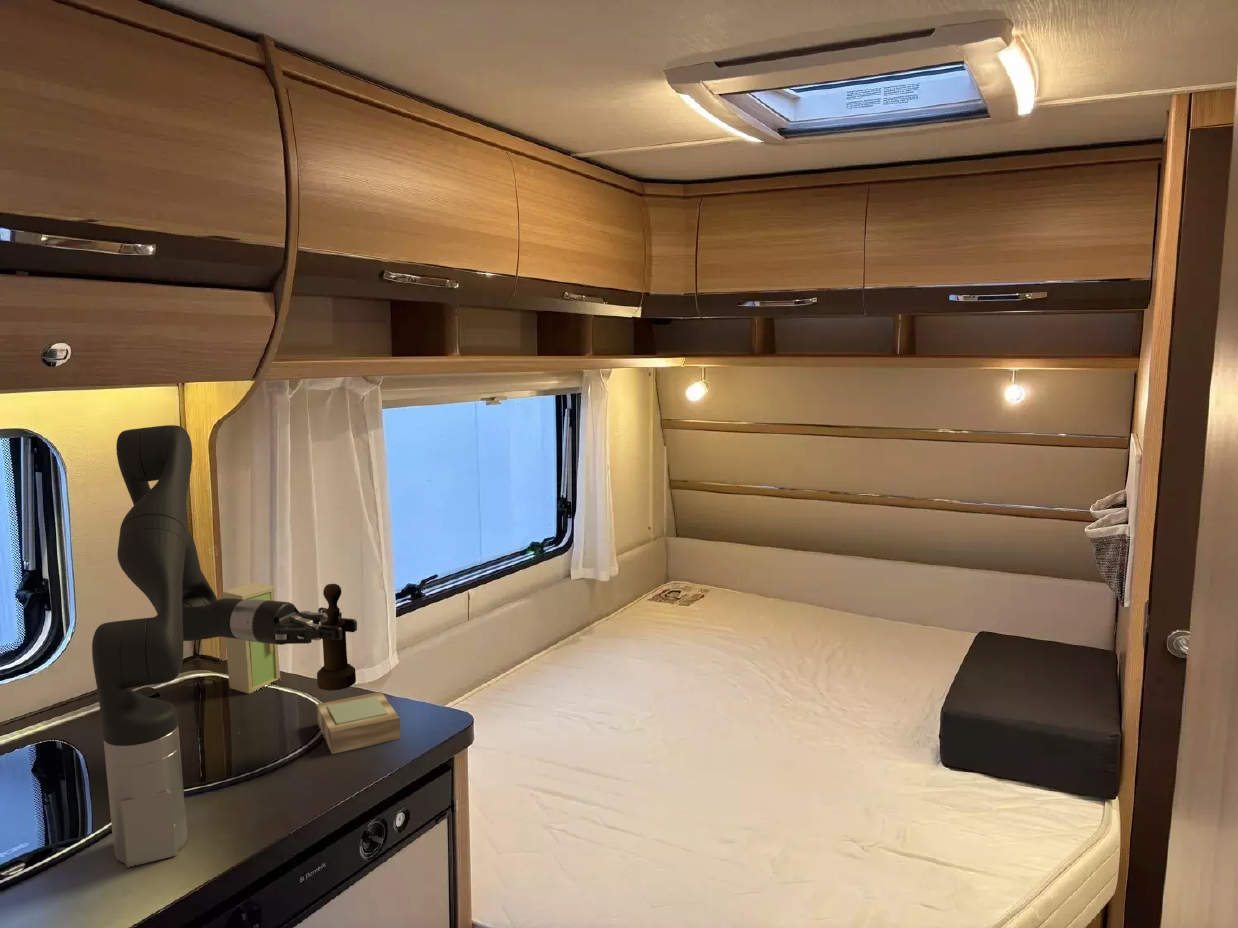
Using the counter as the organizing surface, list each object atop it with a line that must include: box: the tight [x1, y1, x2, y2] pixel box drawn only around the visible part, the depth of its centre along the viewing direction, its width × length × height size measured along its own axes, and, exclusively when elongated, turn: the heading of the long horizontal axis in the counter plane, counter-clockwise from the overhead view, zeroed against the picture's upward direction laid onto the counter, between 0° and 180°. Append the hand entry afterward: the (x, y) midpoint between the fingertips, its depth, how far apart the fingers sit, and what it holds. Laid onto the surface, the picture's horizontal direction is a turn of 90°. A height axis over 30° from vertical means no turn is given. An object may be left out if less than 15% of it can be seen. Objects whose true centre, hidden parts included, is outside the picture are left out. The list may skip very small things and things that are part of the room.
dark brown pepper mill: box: [316, 583, 357, 692], centre depth 153 cm, size 7×6×18 cm
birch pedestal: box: [316, 691, 402, 755], centre depth 162 cm, size 14×12×4 cm
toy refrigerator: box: [221, 582, 281, 695], centre depth 184 cm, size 8×7×21 cm
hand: (348, 629), depth 152 cm, fingers closed on dark brown pepper mill, 4 cm apart
